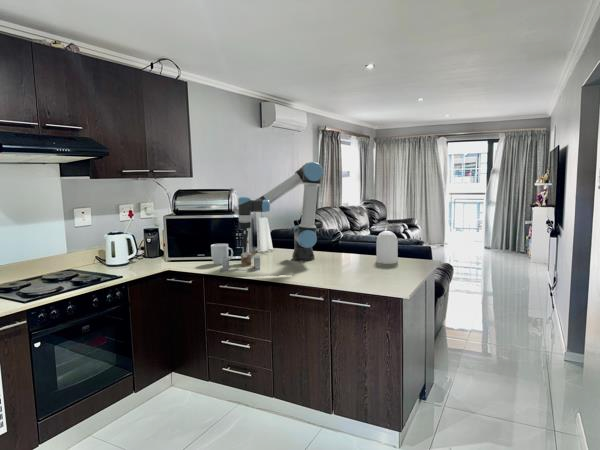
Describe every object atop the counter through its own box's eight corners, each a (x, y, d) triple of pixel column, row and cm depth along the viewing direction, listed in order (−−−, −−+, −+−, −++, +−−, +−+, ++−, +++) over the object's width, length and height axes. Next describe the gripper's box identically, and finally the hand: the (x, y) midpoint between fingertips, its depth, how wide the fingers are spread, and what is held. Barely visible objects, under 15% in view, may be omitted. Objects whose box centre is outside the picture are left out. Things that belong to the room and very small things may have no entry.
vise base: (261, 267, 256) (261, 265, 256) (262, 272, 245) (261, 269, 244) (220, 269, 254) (220, 267, 254) (219, 274, 242) (219, 271, 242)
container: (372, 261, 269) (371, 230, 266) (387, 258, 276) (387, 228, 274) (386, 264, 257) (387, 232, 255) (402, 261, 265) (402, 230, 262)
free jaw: (260, 266, 254) (259, 255, 254) (260, 269, 246) (259, 257, 245) (254, 266, 254) (254, 255, 253) (254, 269, 246) (254, 257, 245)
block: (251, 265, 265) (250, 252, 264) (251, 267, 259) (250, 254, 258) (241, 265, 264) (241, 253, 263) (241, 267, 258) (241, 255, 257)
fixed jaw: (229, 268, 252) (229, 256, 252) (228, 271, 244) (228, 259, 243) (223, 268, 252) (223, 257, 251) (222, 271, 244) (222, 259, 243)
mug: (228, 261, 278) (228, 242, 276) (237, 263, 270) (236, 244, 268) (208, 264, 269) (207, 244, 267) (216, 267, 260) (215, 246, 259)
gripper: (239, 219, 270) (240, 251, 272) (237, 224, 245) (238, 259, 248) (251, 219, 271) (251, 251, 273) (250, 223, 246) (251, 259, 249)
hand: (245, 255), depth 260 cm, fingers open, 13 cm apart
